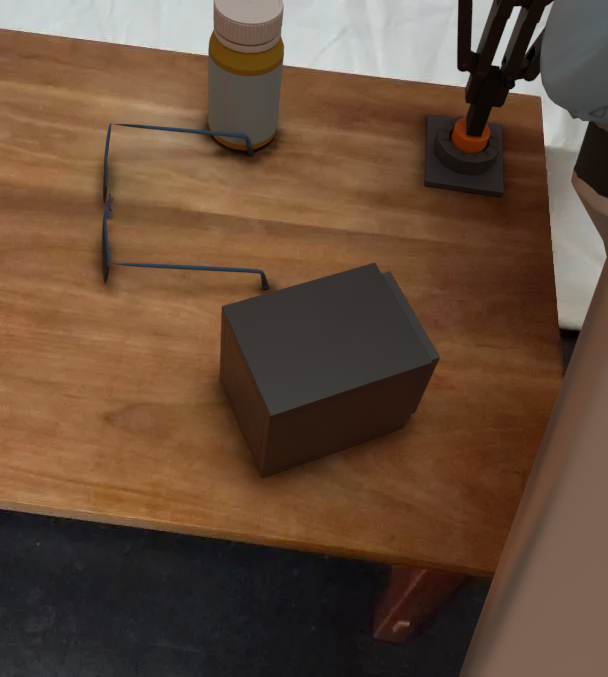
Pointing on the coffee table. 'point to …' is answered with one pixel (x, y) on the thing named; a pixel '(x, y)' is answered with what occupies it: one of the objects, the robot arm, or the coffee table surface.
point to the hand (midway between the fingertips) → (473, 126)
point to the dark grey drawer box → (319, 367)
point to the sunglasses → (109, 213)
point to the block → (462, 160)
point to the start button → (468, 138)
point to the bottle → (245, 70)
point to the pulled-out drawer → (418, 330)
